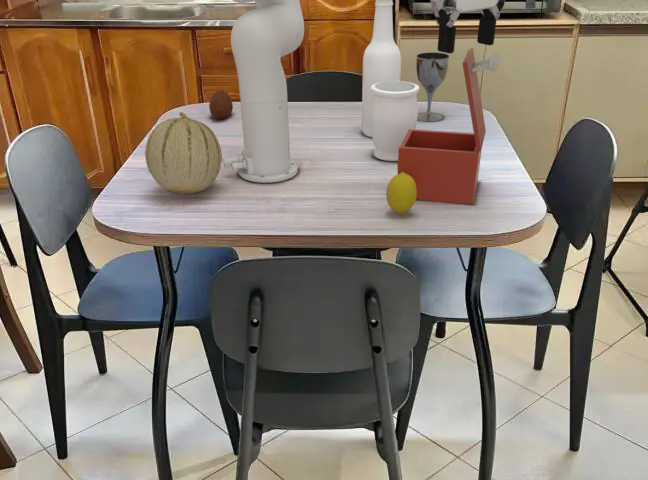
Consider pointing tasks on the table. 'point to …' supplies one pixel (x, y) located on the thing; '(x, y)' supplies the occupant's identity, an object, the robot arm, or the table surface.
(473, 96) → the bin lid
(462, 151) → the bin
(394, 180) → the lemon
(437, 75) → the wine glass
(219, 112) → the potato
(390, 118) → the jar
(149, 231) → the table surface
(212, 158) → the cantaloupe
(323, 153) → the table surface
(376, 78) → the alcohol
